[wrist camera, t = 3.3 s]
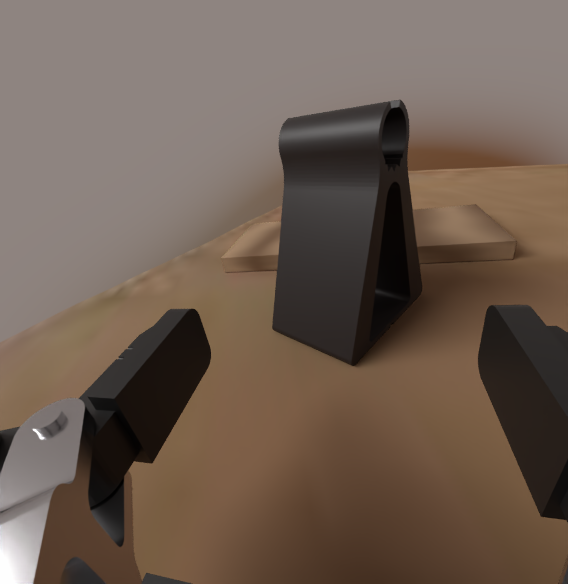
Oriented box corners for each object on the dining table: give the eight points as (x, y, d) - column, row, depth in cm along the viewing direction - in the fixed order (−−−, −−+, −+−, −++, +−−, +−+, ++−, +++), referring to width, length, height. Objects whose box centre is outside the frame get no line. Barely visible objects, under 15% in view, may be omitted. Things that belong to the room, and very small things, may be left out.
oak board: (473, 218, 33) (476, 204, 32) (512, 259, 24) (517, 240, 23) (254, 235, 39) (252, 223, 38) (225, 272, 30) (221, 257, 30)
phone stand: (349, 275, 26) (339, 109, 20) (422, 293, 22) (436, 92, 16) (272, 332, 21) (230, 129, 15) (351, 368, 17) (334, 111, 11)
